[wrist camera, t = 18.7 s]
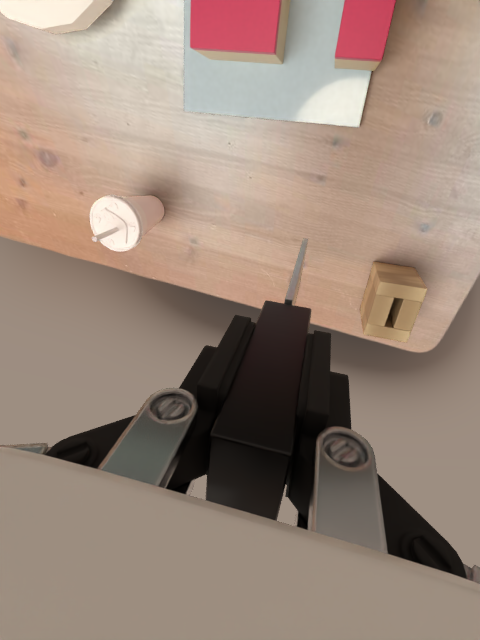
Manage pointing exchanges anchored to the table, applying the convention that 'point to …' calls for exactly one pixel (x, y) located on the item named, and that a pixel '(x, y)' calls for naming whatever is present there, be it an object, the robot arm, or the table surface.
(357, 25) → the cake slice
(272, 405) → the knife
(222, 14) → the cake
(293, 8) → the cake plate
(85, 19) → the candle holder
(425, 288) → the knife block
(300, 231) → the table surface
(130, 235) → the smoothie
